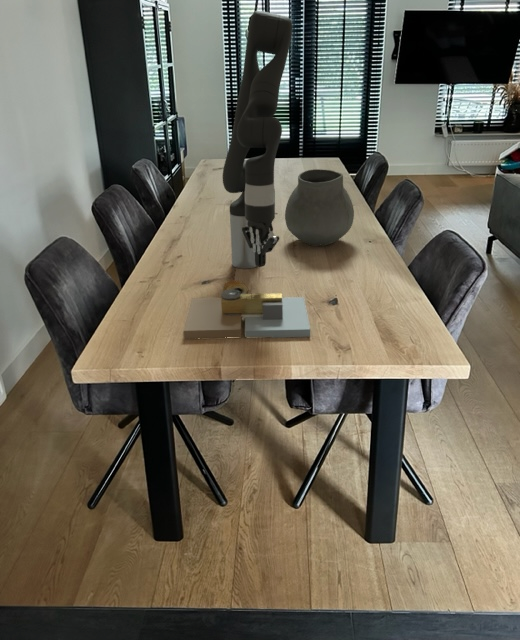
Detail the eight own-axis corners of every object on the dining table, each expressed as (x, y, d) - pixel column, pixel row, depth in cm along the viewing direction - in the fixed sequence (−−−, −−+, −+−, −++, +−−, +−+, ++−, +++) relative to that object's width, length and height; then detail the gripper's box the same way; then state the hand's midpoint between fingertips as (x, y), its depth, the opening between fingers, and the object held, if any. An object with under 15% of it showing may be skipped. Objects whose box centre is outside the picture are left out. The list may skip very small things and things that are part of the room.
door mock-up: (192, 306, 158) (190, 286, 155) (303, 303, 158) (304, 283, 155) (184, 339, 140) (182, 317, 137) (310, 336, 140) (310, 314, 137)
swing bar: (221, 315, 146) (220, 297, 143) (222, 306, 150) (221, 289, 148) (282, 313, 145) (282, 295, 143) (281, 305, 150) (281, 288, 148)
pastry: (220, 288, 170) (219, 276, 169) (242, 285, 172) (241, 273, 170) (226, 300, 162) (226, 287, 160) (249, 297, 164) (249, 284, 162)
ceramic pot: (273, 248, 202) (272, 177, 192) (301, 229, 222) (301, 164, 211) (338, 257, 192) (341, 182, 181) (361, 237, 211) (365, 169, 200)
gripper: (288, 203, 140) (287, 269, 148) (254, 193, 149) (255, 255, 157) (265, 209, 135) (265, 276, 143) (231, 198, 145) (233, 262, 152)
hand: (260, 265), depth 150 cm, fingers closed
